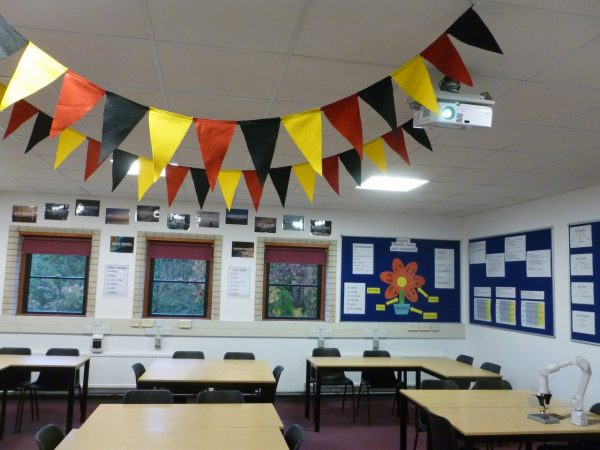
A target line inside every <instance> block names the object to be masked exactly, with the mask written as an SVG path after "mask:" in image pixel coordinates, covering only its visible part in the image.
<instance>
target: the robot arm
mask: <svg viewBox="0 0 600 450" xmlns="http://www.w3.org/2000/svg"><path fill="white" fill-rule="evenodd" d="M568 366H577V367H579V368H580V369H581V371H582V373H581V376H580V380H579V382H578V385H577V387H576V392H575V394H574V395H573V397H572V398H571V399H570V400H569V404H570V405H571V407H570V418H571V419H570V420H568V421H567V422H568V423H570V424H573V425H575V426H579V427H583V426H584V427H585V426H589V425H590V424H589V423H588V422H589V421H588V419H589V418H588V414H587V413H586V412H585V411H584V402H585V400H584V398H585V394H586V391H587V389H588V386H589V382H590V379H591V376H592V373H593V371H592V367H591V363H590V362H589V361H588V359H587V358H585V357H583V356H576V357H575V356H574V357H572V358H569V359H566V360H563V361H561V362H558V363H556V362H550V363H549V364H545V365H544V364H543V366H539V368H538V369H537V373H538V385H539V387H538V388H539V390H537V392H536V393H537V394H535V395H536V397H537V398H538V400H539V403H540V406H544V402H545V404H546V406H549V405H550V403H551V400H552V397H553V394H551V393H552V391H551V390H549V375H550V374H551V375H552V374H553V373H557V372H559V371H560V370H561V369H562V368H565V367H568Z"/></svg>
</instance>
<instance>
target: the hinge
mask: <svg viewBox="0 0 600 450" xmlns="http://www.w3.org/2000/svg"><path fill="white" fill-rule="evenodd" d="M536 395H537V394H529V395H527V397H526V398H527V401H528V405H531V406H533V407H536V408H537V409H539V408H544V409H546V410H549V406H548V405H546V403H545V401H544V406H540V403H539V400H538V398H537V397H536Z"/></svg>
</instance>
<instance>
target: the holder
mask: <svg viewBox="0 0 600 450" xmlns="http://www.w3.org/2000/svg"><path fill="white" fill-rule="evenodd" d="M545 415H548V416H551V417H554V418H557V419H559V421H560V420H562V421H563V420H565V417H564V416H563V415H561V414H557V413H555V412H552V413H551V412H549V413H546V412H545Z"/></svg>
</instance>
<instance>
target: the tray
mask: <svg viewBox="0 0 600 450" xmlns="http://www.w3.org/2000/svg"><path fill="white" fill-rule="evenodd" d="M526 415H527V416H526V417H527V419H530V420H532V421H535V422H538V423H541V424H544V425H552V424H553V425H554V424H560V420H559V419H557V418H554V417H551V416H548V415H545V418H546V420H544V419H541V414H540V412H538V413H527V414H526Z"/></svg>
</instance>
